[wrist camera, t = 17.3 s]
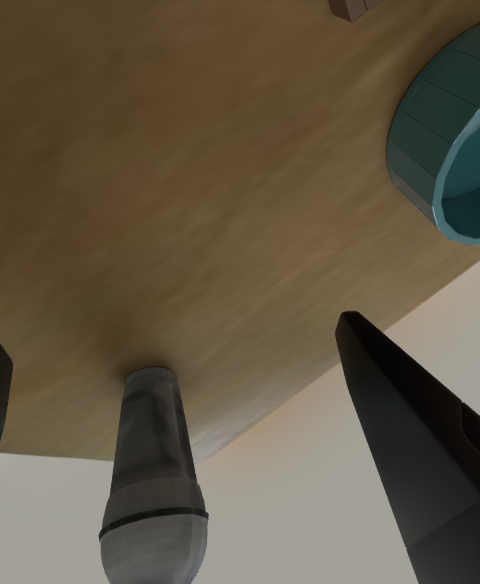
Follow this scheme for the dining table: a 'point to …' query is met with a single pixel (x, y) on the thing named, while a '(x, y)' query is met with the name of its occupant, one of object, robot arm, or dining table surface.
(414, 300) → the dining table surface
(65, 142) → the dining table surface
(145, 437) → the beverage cup
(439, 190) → the teal bowl
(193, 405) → the dining table surface
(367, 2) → the tray
